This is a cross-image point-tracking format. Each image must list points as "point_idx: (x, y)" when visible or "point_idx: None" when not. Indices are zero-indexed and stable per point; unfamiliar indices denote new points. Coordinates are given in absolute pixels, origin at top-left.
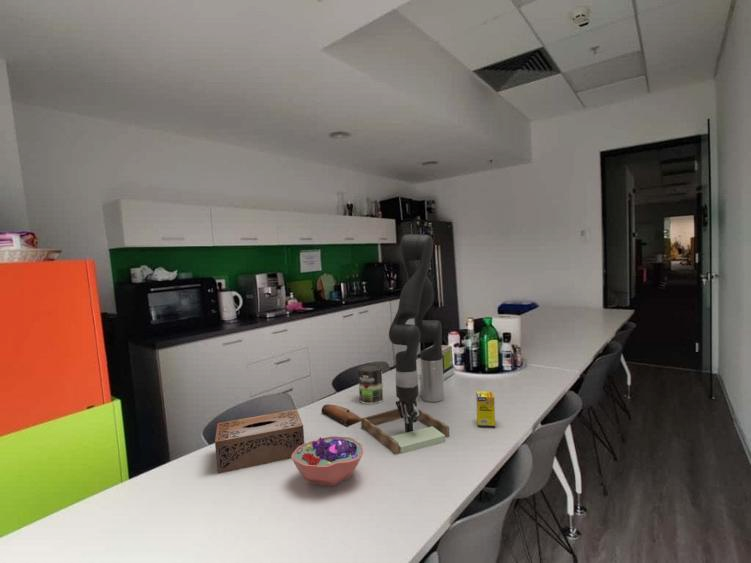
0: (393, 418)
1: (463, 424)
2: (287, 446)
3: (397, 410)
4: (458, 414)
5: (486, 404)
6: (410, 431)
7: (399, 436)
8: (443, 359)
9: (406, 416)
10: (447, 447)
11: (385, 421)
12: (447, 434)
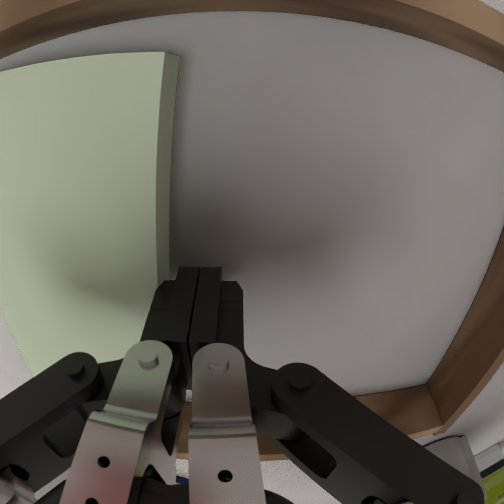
0: (479, 306)
1: (183, 460)
2: None
3: (486, 366)
4: (267, 475)
5: None
6: (159, 296)
7: (110, 151)
8: None
9: (90, 422)
10: (3, 336)
11: (501, 247)
12: None
